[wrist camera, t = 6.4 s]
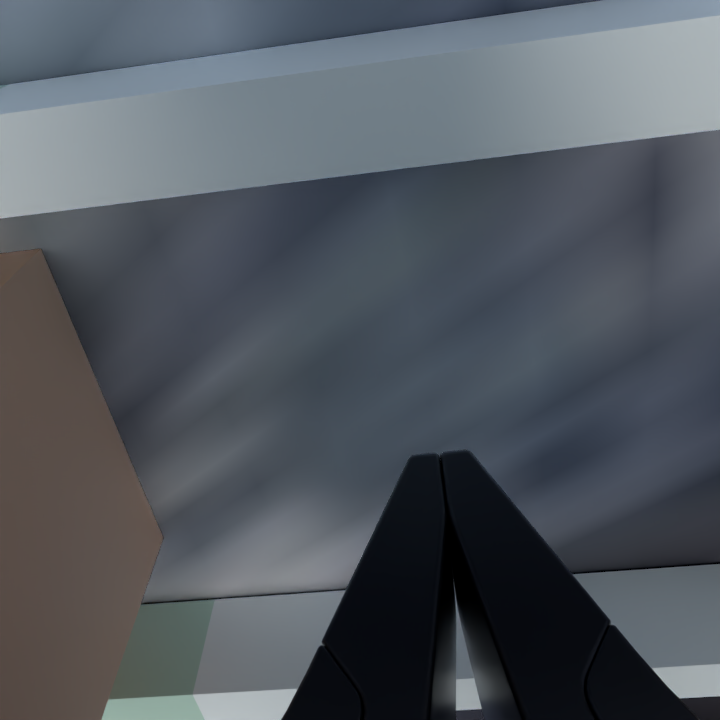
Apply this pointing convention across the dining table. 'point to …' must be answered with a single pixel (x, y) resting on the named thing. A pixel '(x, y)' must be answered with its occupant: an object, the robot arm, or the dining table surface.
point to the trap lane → (351, 157)
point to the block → (61, 512)
